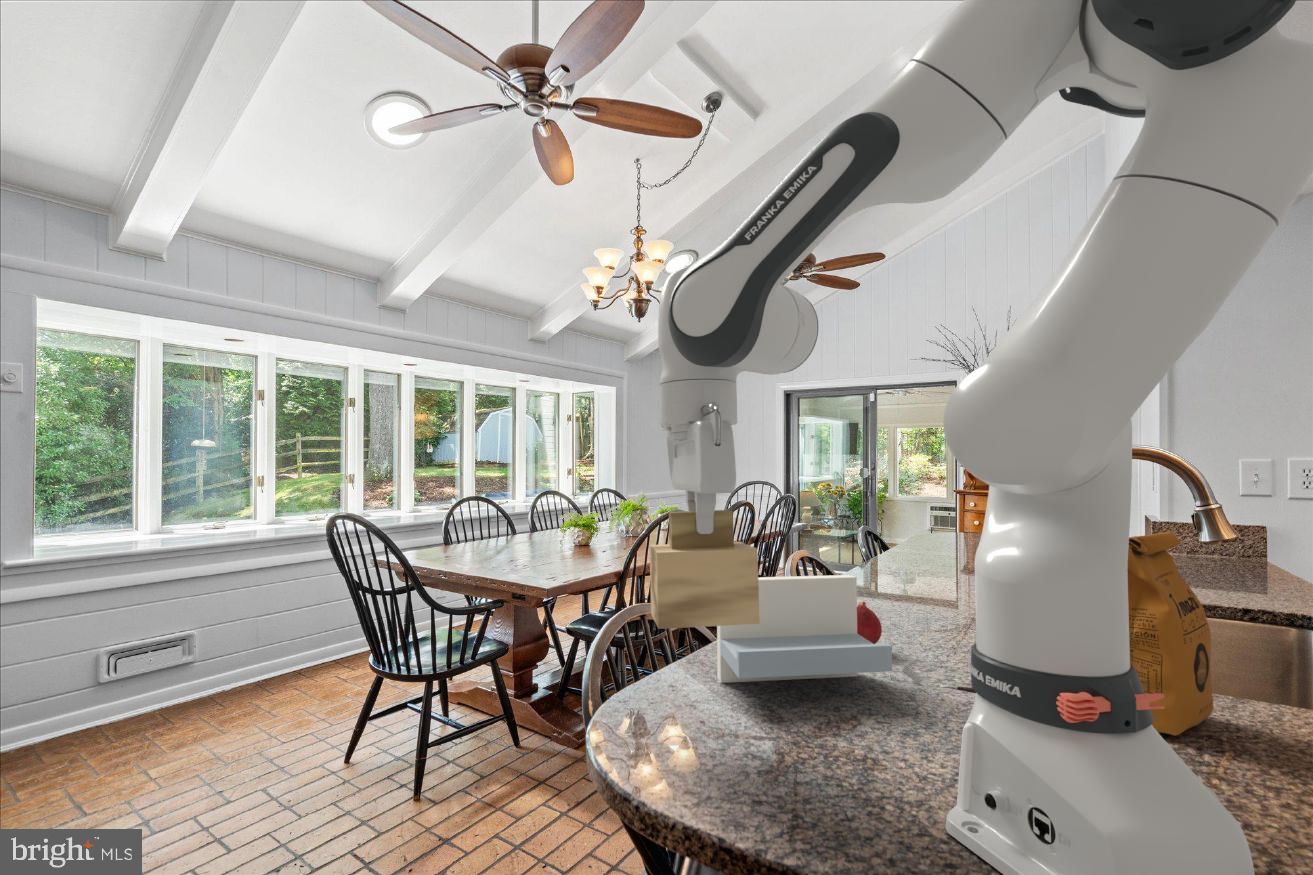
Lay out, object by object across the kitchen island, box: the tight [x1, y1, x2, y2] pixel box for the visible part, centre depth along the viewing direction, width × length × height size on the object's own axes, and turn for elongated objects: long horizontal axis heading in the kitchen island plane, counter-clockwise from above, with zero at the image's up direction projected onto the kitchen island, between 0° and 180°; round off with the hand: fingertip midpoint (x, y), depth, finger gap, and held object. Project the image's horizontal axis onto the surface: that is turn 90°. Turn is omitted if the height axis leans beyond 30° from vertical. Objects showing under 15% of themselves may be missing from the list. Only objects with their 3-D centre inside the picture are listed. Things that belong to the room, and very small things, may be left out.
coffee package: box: [1128, 531, 1214, 736], centre depth 74 cm, size 10×12×22 cm
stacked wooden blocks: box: [649, 509, 760, 630], centre depth 71 cm, size 7×11×12 cm, turn 97°
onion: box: [857, 600, 883, 644], centre depth 101 cm, size 6×6×8 cm
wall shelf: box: [716, 574, 893, 684], centre depth 84 cm, size 12×20×14 cm, turn 97°
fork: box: [902, 665, 976, 694], centre depth 84 cm, size 3×16×2 cm, turn 59°
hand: (701, 531), depth 71 cm, fingers closed on stacked wooden blocks
